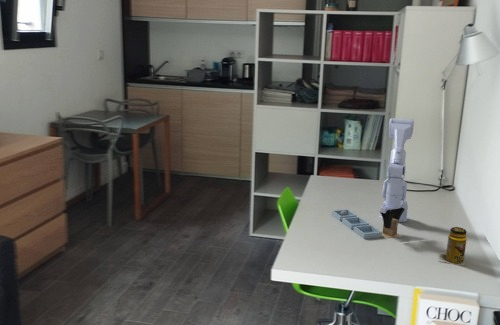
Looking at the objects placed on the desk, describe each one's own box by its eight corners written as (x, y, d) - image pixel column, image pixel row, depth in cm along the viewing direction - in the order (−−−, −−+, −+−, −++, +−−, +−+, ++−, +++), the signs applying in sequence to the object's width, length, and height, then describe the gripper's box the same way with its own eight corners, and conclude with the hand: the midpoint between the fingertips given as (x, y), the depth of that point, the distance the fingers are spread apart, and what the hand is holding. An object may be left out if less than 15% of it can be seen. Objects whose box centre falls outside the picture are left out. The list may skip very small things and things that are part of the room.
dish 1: (347, 214, 227) (348, 209, 227) (356, 220, 220) (356, 215, 219) (331, 215, 225) (331, 210, 224) (339, 222, 218) (340, 216, 217)
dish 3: (370, 230, 209) (371, 225, 208) (381, 238, 202) (382, 232, 201) (353, 232, 207) (353, 226, 206) (363, 239, 199) (364, 233, 199)
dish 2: (358, 222, 218) (359, 216, 218) (368, 229, 211) (369, 223, 210) (341, 223, 216) (342, 218, 215) (351, 230, 208) (351, 224, 208)
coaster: (392, 231, 209) (392, 229, 209) (402, 237, 203) (402, 236, 203) (377, 232, 207) (377, 231, 207) (386, 239, 201) (387, 237, 201)
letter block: (387, 231, 208) (389, 216, 206) (396, 234, 205) (398, 219, 203) (382, 233, 205) (383, 219, 204) (391, 236, 202) (392, 221, 201)
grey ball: (345, 215, 224) (345, 209, 224) (348, 218, 222) (349, 211, 221) (339, 216, 223) (339, 209, 223) (342, 218, 221) (342, 212, 220)
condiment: (464, 266, 179) (469, 234, 176) (438, 261, 182) (443, 230, 179) (464, 258, 185) (468, 227, 183) (439, 254, 188) (443, 223, 186)
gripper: (395, 188, 208) (391, 219, 212) (374, 194, 199) (371, 227, 202) (410, 192, 203) (407, 224, 207) (390, 199, 194) (387, 232, 197)
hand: (390, 226), depth 204 cm, fingers open, 5 cm apart
